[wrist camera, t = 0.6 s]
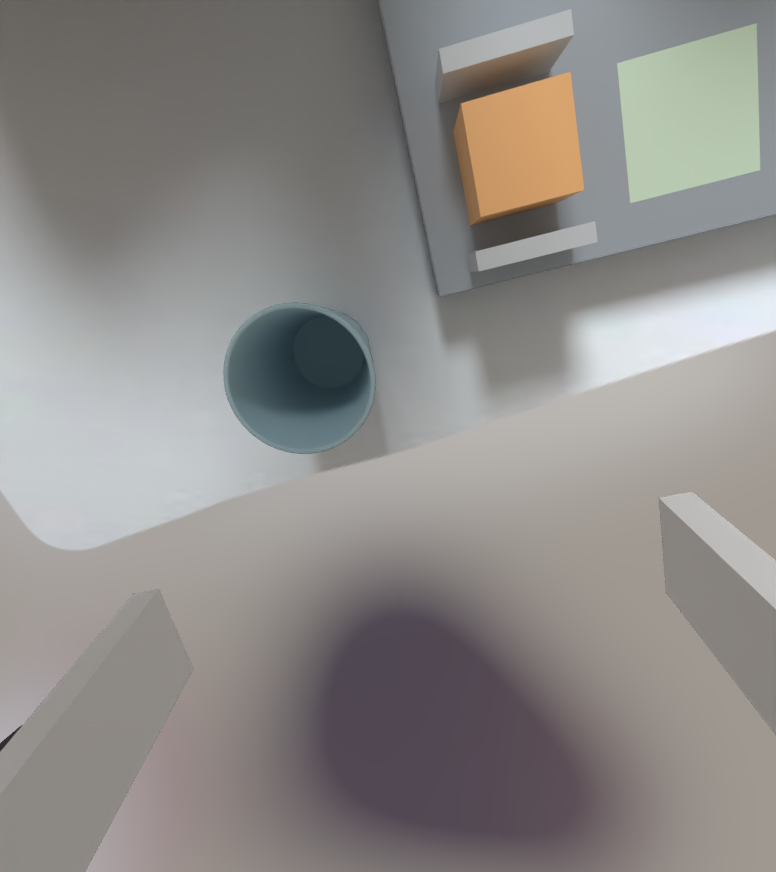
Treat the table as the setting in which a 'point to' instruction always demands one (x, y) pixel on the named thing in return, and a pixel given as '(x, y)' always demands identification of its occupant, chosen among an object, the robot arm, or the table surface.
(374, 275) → the table surface
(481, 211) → the orange block
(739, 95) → the platform
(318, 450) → the cup
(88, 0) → the table surface
